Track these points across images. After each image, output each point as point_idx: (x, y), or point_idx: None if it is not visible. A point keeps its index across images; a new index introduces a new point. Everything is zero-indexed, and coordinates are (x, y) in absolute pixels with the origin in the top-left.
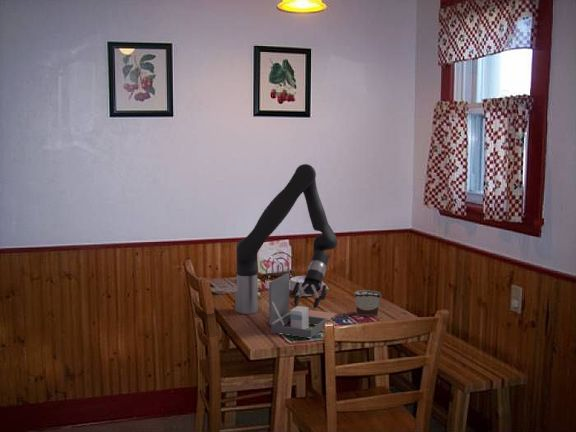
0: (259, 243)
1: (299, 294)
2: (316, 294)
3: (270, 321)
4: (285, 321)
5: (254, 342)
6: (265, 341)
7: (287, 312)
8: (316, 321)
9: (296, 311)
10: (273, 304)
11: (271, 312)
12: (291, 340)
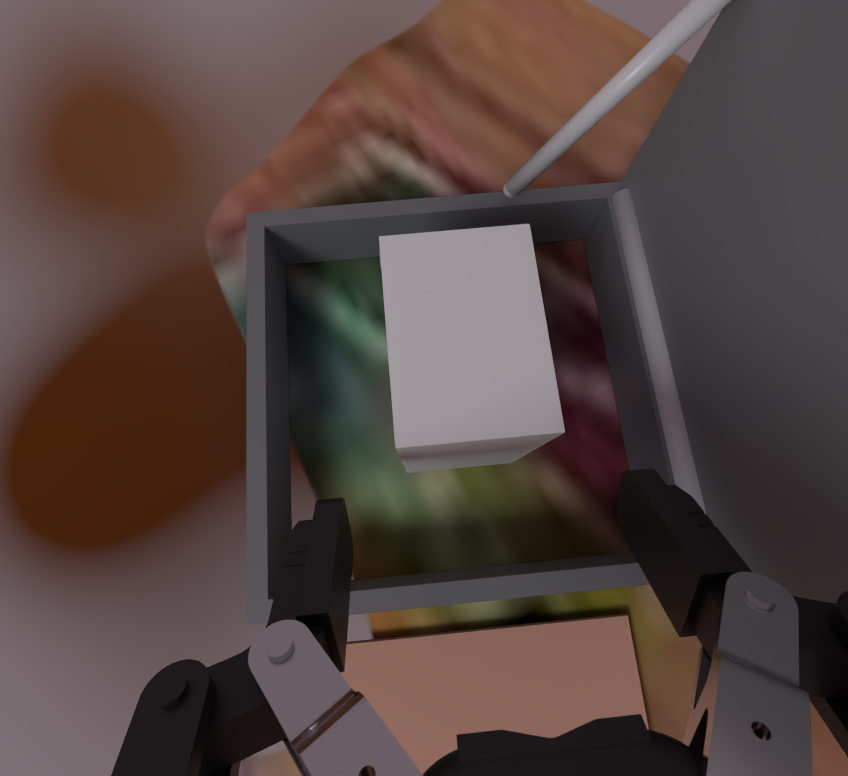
0: None
1: (716, 623)
2: (318, 698)
3: (638, 161)
4: (639, 443)
5: (571, 42)
6: (524, 83)
7: None
8: (373, 583)
9: (452, 234)
10: None
11: (677, 99)
12: (384, 171)
